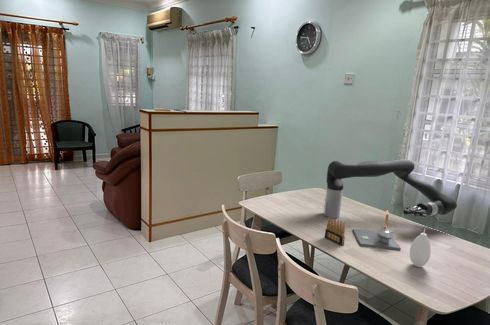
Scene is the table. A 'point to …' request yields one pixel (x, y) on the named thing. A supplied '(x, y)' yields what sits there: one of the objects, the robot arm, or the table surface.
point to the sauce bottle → (420, 250)
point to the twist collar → (385, 229)
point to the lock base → (374, 240)
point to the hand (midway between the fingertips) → (404, 212)
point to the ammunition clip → (335, 232)
